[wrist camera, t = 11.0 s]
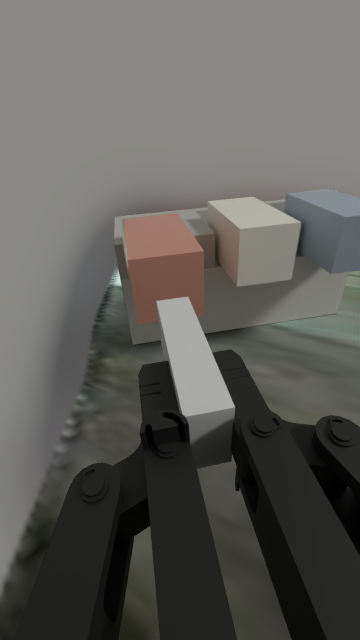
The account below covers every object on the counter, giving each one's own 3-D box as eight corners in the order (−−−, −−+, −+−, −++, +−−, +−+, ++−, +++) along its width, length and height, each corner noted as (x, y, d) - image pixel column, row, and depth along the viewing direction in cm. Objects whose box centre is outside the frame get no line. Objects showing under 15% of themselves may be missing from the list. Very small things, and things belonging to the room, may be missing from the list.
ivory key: (249, 242, 27) (253, 196, 25) (291, 279, 21) (301, 222, 19) (207, 247, 27) (207, 201, 25) (236, 286, 20) (240, 229, 18)
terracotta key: (181, 263, 24) (178, 213, 22) (204, 314, 18) (203, 251, 15) (132, 269, 24) (124, 219, 22) (138, 324, 17) (127, 260, 15)
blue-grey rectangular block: (319, 234, 28) (329, 189, 26) (381, 267, 22) (401, 210, 19) (280, 238, 28) (286, 193, 25) (330, 274, 21) (345, 217, 19)
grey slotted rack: (296, 278, 35) (311, 196, 30) (336, 313, 29) (364, 216, 24) (129, 301, 33) (114, 216, 28) (132, 344, 27) (114, 245, 21)
